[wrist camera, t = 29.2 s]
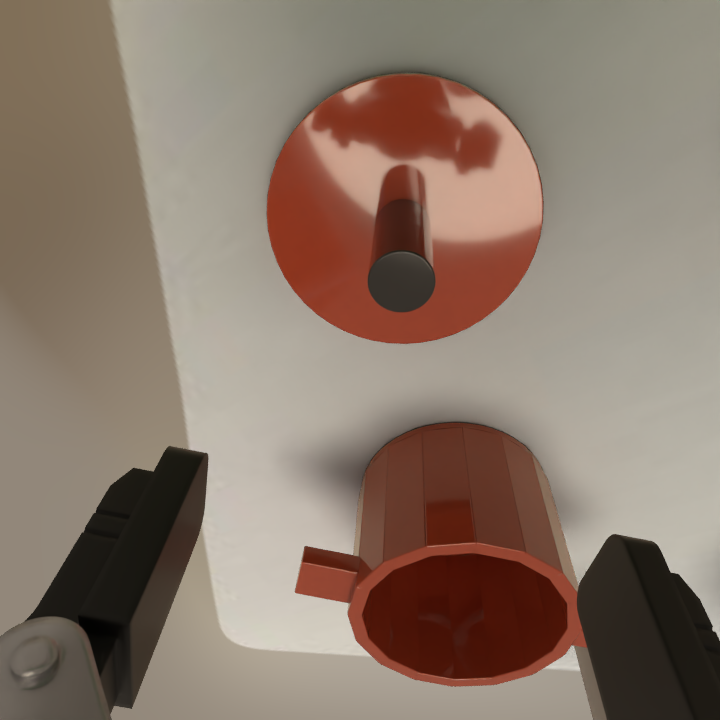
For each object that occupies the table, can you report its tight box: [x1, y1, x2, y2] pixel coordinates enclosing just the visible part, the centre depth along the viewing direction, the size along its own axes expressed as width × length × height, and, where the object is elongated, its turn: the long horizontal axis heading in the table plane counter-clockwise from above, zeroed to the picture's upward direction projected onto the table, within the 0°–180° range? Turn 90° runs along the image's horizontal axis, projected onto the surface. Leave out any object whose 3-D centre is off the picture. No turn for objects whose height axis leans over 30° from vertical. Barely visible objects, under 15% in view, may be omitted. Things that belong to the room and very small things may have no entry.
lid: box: [267, 73, 544, 344], centre depth 24 cm, size 12×12×7 cm
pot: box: [295, 423, 587, 687], centre depth 32 cm, size 11×16×8 cm
